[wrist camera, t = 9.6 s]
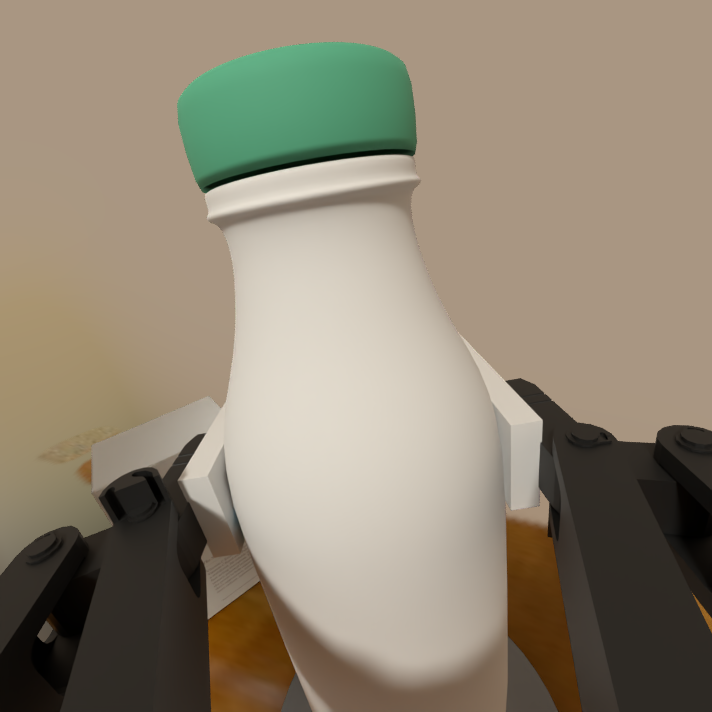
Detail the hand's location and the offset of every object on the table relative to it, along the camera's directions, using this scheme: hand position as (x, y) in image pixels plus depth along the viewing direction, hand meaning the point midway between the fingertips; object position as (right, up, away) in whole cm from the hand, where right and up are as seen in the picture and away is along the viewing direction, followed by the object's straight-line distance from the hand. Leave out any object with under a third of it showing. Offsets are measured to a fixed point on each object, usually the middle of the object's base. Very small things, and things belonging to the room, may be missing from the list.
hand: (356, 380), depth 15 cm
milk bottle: (+2, -12, 0) cm, 12 cm away
